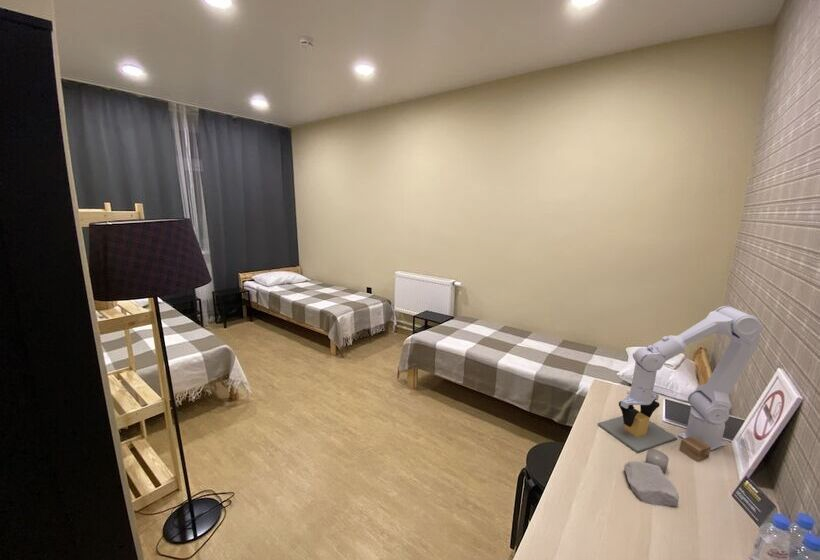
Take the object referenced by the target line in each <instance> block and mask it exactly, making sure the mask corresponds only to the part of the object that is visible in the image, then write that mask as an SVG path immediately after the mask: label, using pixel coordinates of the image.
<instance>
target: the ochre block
mask: <svg viewBox="0 0 820 560" xmlns="http://www.w3.org/2000/svg"><path fill="white" fill-rule="evenodd" d="M650 418H651V417H650ZM650 418H649V417H648V416H646V415H644V414H643V413H641V412H640V411H639V412H638V413H637V415H636V416H635V418H634V421H633V424H632V426H631V427H629V426H627V425H626V424H624V429H625V430H627V431H628V432H630V433H631V434H633V435H634V436H636V437H639V436H642V435H645V434H647V429H648V424H649V421H650Z"/></svg>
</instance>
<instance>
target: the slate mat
mask: <svg viewBox="0 0 820 560" xmlns="http://www.w3.org/2000/svg"><path fill="white" fill-rule="evenodd" d="M597 426H598V427H599V428H601V429H602V430H603V431H605V432H606V433H608V434H609V435H610V436H612V437H614V438H615V439H617V440H618V441H620V443H622V444H623V445H624V446H626V447H628V448H629V449H630V450H631V451H633V452H634V453H636V454H640V453H643V452H645V451H648V450H649V449H655V448H657V447H659V446H662V445H665V444H668V443H671V442H674V441H676V440H678V437H677V436H675V435H674V434H672V433H671V432H669V431H667V430H666V429H664V428H662V427H660V426H659V425H658V424H656V423H654V422H652V421H651V420H649V424H648V429H647V434H645V435H642V436H639V437H636V436H634V435H633V434H631V433H630V432H628V431H627V430H625V429H624V421H623V415H621V416H618V417H617V416H616V417H615V418H611V419H607V420H603V421H600V422H597Z"/></svg>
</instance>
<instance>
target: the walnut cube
mask: <svg viewBox="0 0 820 560" xmlns="http://www.w3.org/2000/svg"><path fill="white" fill-rule="evenodd" d="M678 449H679V450H678V451H679V452H681V453H682V454H684V455H686V456H687V457H688V458H690V459H692V460H693V461H695V462H696V463H698V462H701V461H704V460H707V459H709V457H710V453H711V451H712V450H711V447H710V446H709V445H707V444H705V443H704V442H702V441H700V440H699V439H697V438H695V437H694V436H691V437H688V438H684V439H683V438H681V440H680V444H679V448H678ZM710 450H711V451H710Z"/></svg>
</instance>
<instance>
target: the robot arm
mask: <svg viewBox="0 0 820 560" xmlns="http://www.w3.org/2000/svg"><path fill="white" fill-rule="evenodd" d="M762 330H764V325H763V324H762V323H761V320H759V318H758V317H757V316H755V315H752V314H749V313H746V312H745V311H744V312H743V311H742V310H739V309H736V308H735V307H733V306H730V305H723V306H720V307H718V308H716V309H715V310H712V311H710V312H709V313H708V314H707V315H706V317H705V318H704V319H702V320H700V321H699V322H698V323H695V324H694V325H693V326H691V327H689V328H688V329H686V330H684V331H682V332H681V333H680V334H678V335H671V334H669V335H668V336H667V335H664V336H662V337H661V339H660V340H658V341H657V342H654V343H653V344H649V345H647V347H644V346H643V347H639V348H638V349H636V350H635V352H634V353H632V358H633V360H634V361H635V365H634V369H633V374H632V380H631V386H630V390H627V391H626V394H627V396H625V397H624V398H623V399H621V400H620V401H618V407H619V408H620V410H621V413H622V414H621V415H622V416H623V421H624V424H626V425H627V426H629V427H631V426H632V424H633V421H634V418H635V416H636V415H637V413H638V412H641V413H643V414H644V415H646V416H648V417H649V418H651V417H652V415H653V413H654V412H655V411H656V410H657V409H658V408H659V407H660V406H661V404H660V403H659V402H658V400H659V394H658V393H657V392H654V387H655V384H656V378H657V372H658V371H660V370H661V369H662V368H663V366H664V365H665V363H666V362H667V361H669V360H670V359H673V358H674V357H677V356H679V355H680V354H681V355H682V353H684V352H685V351H686V348H687V346H689V345H690V344H693V343H695V342H697V341H698V342H699V341H700V340H702V339H704V338H708V337H709V336H712V335H713V334H719V335H726V336H728V338H729V339H730V342H729V344H728V345H727V347H726V348H725V350H724V352H723V355H722V356H721V357H720V359H719V361H718V363H717V364H716V367H715V368H714V370H713V371H712V373H711V375H710V376H709V378H708V380H707V382H706V383H705V384H701V385H697V386H696V388H695V390H693V391H691V392H690V393H689V395H688V396H687V402H688V404H689V405H690V412H689V416H688V421H687V426H686V431H685V432H681V433H679V434H678V437H680V438H681V439H684V438H688V437H691V436H694V437H695V438H697V439H699V440H700V441H702V442H704V443H705V444H707V445H709V446H710V447H711V450H710V452H711V451H712V450H715V449H718V448H721V447H723V446H725V442H723V441H722V440H723V436H724V433H725V429H726V422H727V421H728V420H729V418H730V410H731V408H732V402H731V399H730V395H729V394H730V393H731V391H732V390H733V388H734V386H735V384H736V383H737V381H738V380H739V379H740V377H741V375H742V373H743V372H744V370H745V368H746V367H747V365H748V364H749V363H750V360H751V358H752V357H753V355H754V354H755V352H756V350H757V349H758V347H759V346H760V343H761V342H760V340H761V339H760V338H761V337H760V335H761V332H762ZM634 406H640V409H639V410H640V411H639V410H637V408H635V407H634Z"/></svg>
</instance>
